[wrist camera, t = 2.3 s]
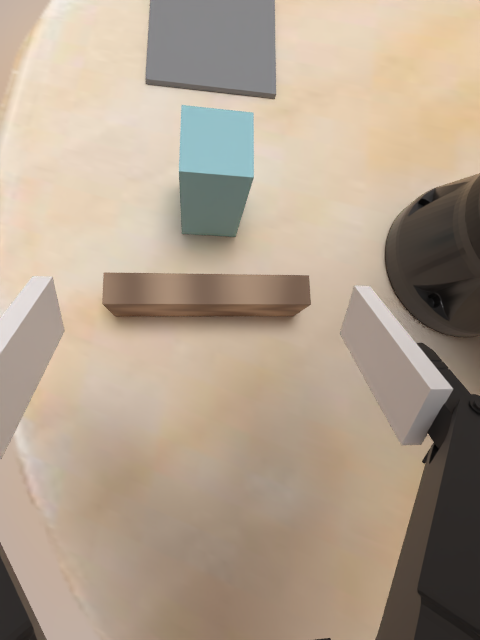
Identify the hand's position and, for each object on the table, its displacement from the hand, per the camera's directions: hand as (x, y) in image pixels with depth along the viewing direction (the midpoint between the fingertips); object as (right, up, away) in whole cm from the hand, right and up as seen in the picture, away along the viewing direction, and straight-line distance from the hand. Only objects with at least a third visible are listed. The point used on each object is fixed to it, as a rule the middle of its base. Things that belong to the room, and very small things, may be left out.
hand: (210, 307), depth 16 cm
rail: (-2, +1, +17) cm, 17 cm away
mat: (-1, +31, +22) cm, 39 cm away
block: (-2, +10, +18) cm, 21 cm away
